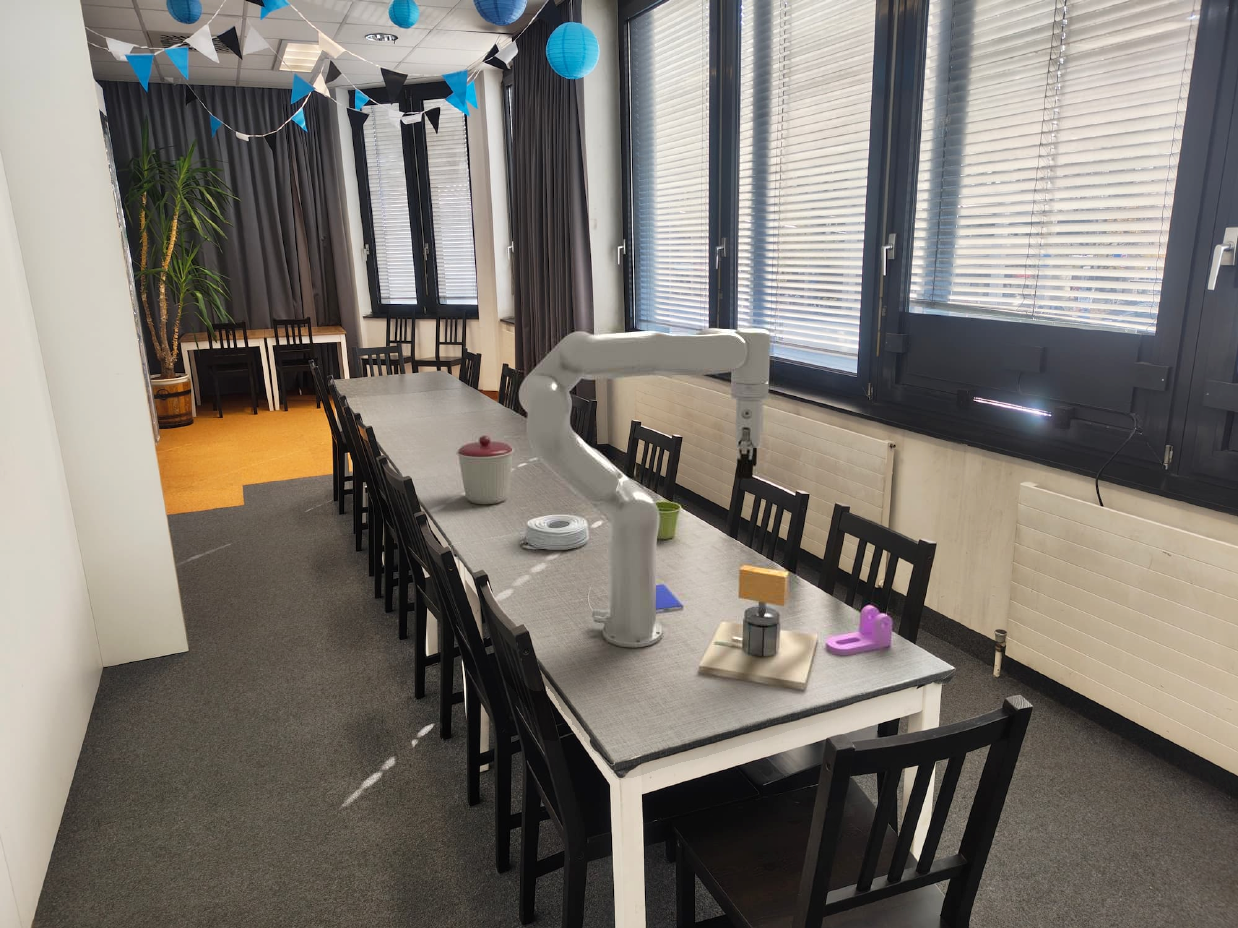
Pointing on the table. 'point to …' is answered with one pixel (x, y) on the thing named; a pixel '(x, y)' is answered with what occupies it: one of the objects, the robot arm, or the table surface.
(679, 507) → the plant pot
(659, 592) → the hard drive
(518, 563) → the table surface
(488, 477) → the canister
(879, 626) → the bracket
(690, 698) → the table surface
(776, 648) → the motor
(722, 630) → the post plate
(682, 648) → the table surface
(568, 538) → the cable
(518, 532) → the table surface
